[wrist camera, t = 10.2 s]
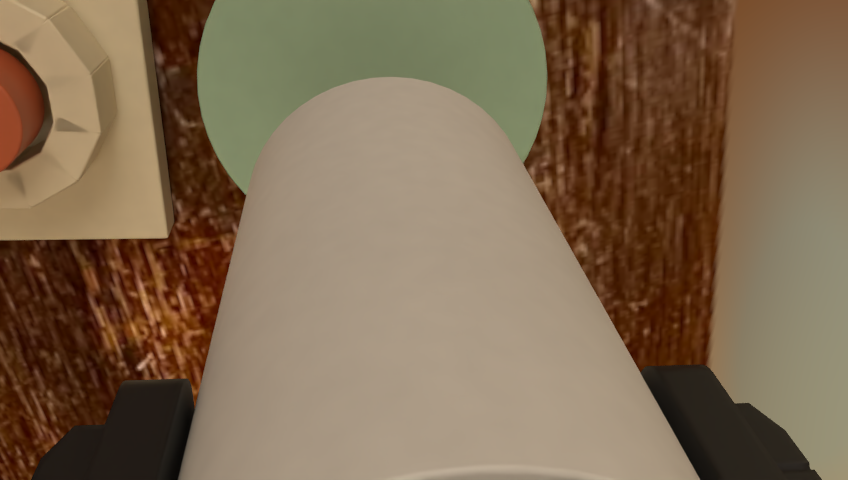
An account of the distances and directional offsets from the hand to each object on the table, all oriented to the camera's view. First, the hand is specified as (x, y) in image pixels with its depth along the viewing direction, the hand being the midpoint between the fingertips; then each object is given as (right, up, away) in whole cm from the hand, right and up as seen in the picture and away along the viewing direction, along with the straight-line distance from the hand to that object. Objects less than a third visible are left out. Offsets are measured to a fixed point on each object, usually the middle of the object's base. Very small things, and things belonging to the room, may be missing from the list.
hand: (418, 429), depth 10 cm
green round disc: (-1, +8, +14) cm, 16 cm away
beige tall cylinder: (-1, +3, +6) cm, 7 cm away
